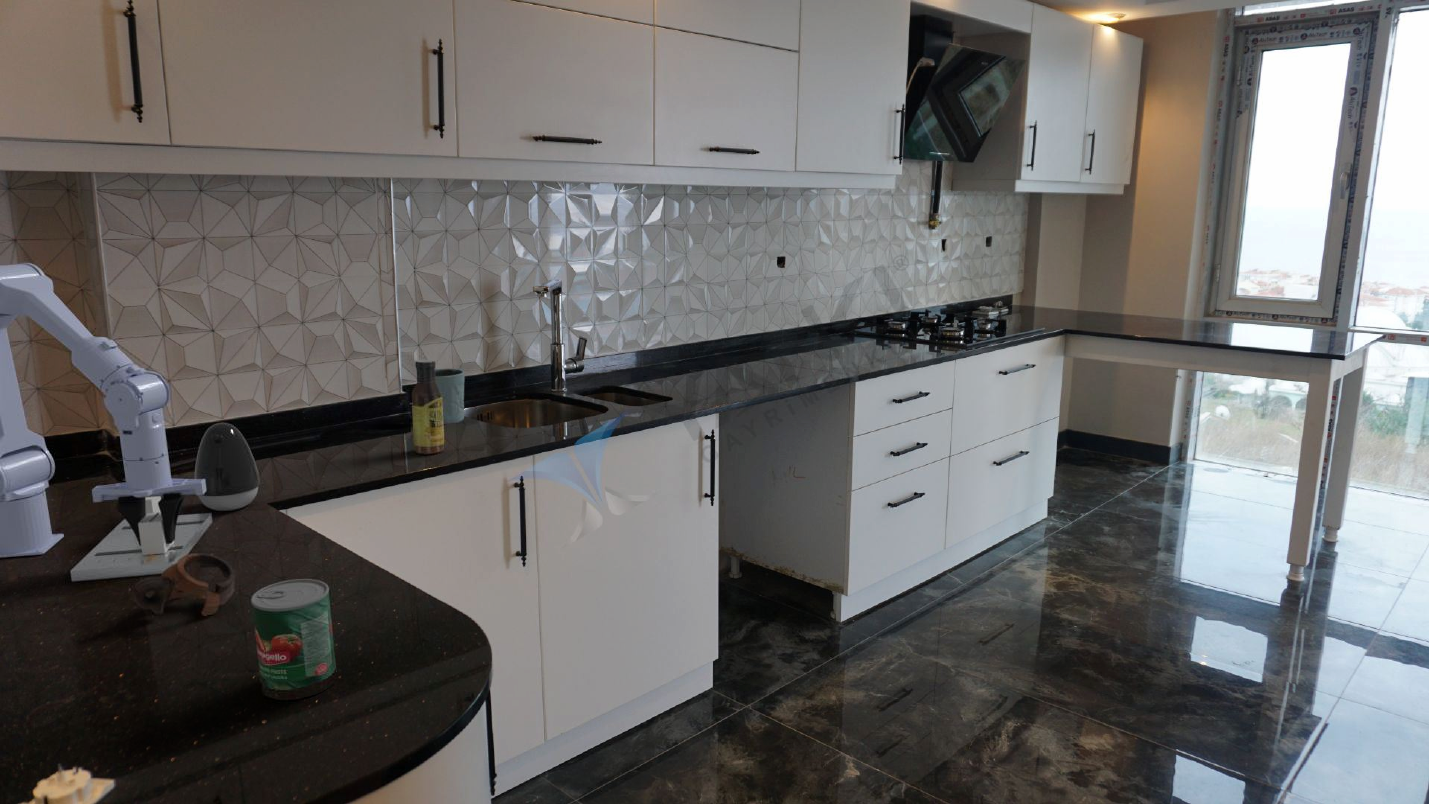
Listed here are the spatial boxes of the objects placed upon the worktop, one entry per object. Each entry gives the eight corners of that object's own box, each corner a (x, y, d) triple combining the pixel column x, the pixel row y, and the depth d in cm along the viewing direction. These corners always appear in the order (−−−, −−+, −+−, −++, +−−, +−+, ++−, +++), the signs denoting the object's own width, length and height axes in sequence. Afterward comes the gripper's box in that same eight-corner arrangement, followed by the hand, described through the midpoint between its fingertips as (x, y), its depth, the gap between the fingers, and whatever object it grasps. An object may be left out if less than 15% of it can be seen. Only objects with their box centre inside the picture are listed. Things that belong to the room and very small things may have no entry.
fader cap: (142, 555, 136) (137, 522, 135) (151, 544, 141) (147, 512, 139) (165, 553, 137) (160, 520, 136) (173, 542, 141) (169, 511, 140)
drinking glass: (472, 415, 231) (470, 368, 228) (457, 425, 221) (455, 376, 218) (434, 414, 232) (431, 367, 229) (417, 424, 222) (414, 375, 219)
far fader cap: (134, 531, 146) (129, 500, 145) (143, 521, 150) (139, 491, 149) (155, 529, 147) (151, 499, 146) (163, 520, 151) (159, 490, 150)
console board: (71, 581, 131) (70, 570, 131) (125, 528, 152) (124, 518, 152) (173, 572, 134) (172, 561, 134) (212, 522, 155) (211, 512, 155)
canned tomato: (347, 665, 108) (339, 578, 106) (321, 701, 101) (312, 608, 98) (279, 666, 108) (269, 578, 106) (248, 701, 101) (237, 608, 98)
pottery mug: (199, 590, 130) (222, 544, 128) (231, 635, 126) (255, 588, 124) (109, 600, 119) (132, 550, 118) (140, 649, 115) (165, 598, 113)
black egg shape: (190, 518, 157) (179, 432, 153) (205, 499, 167) (195, 418, 163) (255, 513, 159) (246, 428, 156) (267, 495, 169) (258, 414, 166)
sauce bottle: (435, 456, 195) (430, 364, 191) (409, 454, 196) (402, 362, 192) (450, 448, 201) (445, 358, 197) (424, 446, 202) (418, 357, 198)
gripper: (78, 466, 130) (92, 556, 133) (192, 459, 134) (203, 547, 137) (97, 453, 137) (110, 539, 140) (205, 447, 140) (215, 531, 143)
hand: (157, 542), depth 139 cm, fingers closed on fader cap, 3 cm apart
